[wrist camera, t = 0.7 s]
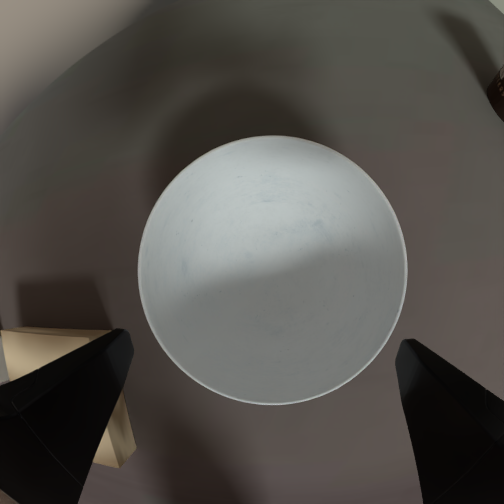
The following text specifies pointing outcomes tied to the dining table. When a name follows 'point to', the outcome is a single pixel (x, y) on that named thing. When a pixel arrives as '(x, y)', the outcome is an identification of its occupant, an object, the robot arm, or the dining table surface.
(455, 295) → the dining table surface
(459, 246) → the dining table surface
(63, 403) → the robot arm
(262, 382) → the chinaware
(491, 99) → the coffee mug
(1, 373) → the grey cube
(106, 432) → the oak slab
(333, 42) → the dining table surface
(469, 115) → the dining table surface
